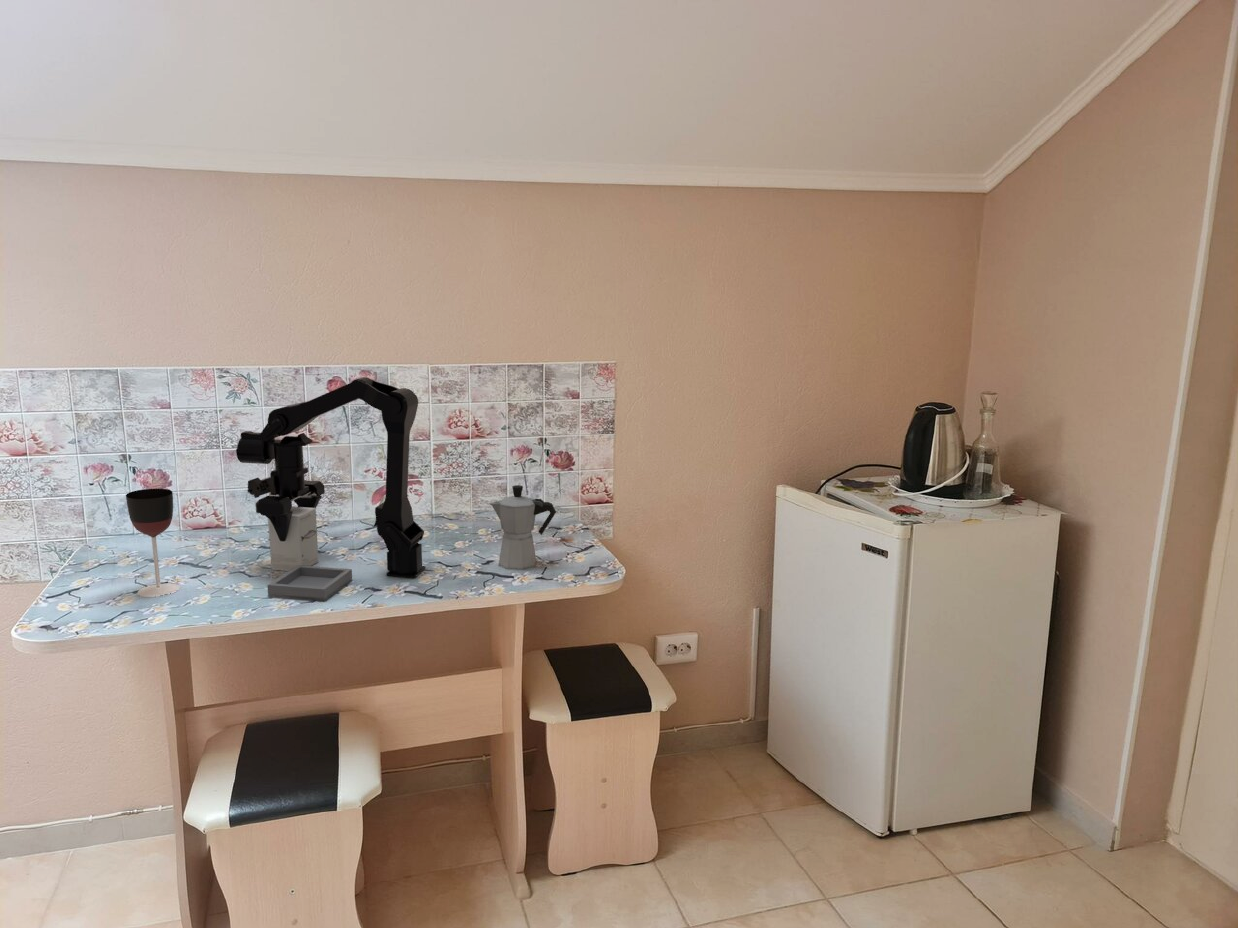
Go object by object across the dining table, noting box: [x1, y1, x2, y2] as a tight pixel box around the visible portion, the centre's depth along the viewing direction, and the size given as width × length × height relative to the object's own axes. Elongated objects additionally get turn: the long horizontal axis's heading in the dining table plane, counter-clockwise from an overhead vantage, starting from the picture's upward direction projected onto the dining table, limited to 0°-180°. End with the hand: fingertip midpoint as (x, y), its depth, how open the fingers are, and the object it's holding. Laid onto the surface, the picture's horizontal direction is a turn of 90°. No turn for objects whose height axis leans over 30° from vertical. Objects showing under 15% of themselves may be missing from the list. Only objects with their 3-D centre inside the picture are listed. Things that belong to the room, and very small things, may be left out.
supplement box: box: [267, 505, 319, 572], centre depth 188 cm, size 7×7×13 cm
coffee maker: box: [488, 484, 557, 571], centre depth 192 cm, size 15×9×18 cm, turn 88°
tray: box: [267, 565, 353, 602], centre depth 176 cm, size 12×12×2 cm
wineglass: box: [125, 488, 181, 598], centre depth 171 cm, size 8×9×20 cm
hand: (293, 534), depth 188 cm, fingers open, 9 cm apart
